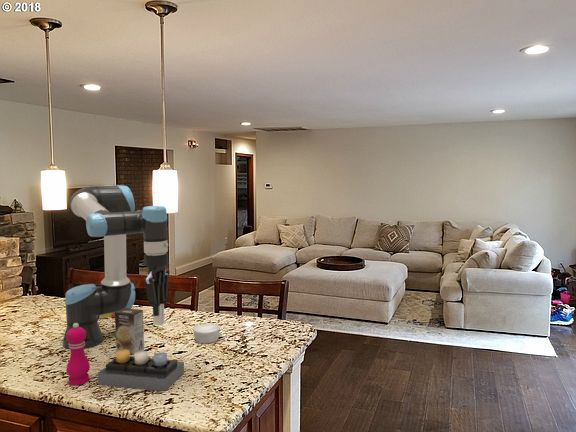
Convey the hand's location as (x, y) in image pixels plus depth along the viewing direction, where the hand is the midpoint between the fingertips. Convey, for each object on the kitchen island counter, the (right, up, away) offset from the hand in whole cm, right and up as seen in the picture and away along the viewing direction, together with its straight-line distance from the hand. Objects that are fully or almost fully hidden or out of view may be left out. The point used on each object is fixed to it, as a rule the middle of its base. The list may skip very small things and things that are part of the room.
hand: (159, 323), depth 154 cm
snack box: (-47, -14, +72) cm, 87 cm away
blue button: (0, -17, +2) cm, 17 cm away
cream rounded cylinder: (-7, -17, +3) cm, 19 cm away
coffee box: (-19, -17, +29) cm, 39 cm away
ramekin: (+9, -16, +40) cm, 44 cm away
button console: (-7, -19, +3) cm, 21 cm away
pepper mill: (-27, -20, +2) cm, 34 cm away
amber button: (-13, -17, +5) cm, 22 cm away
